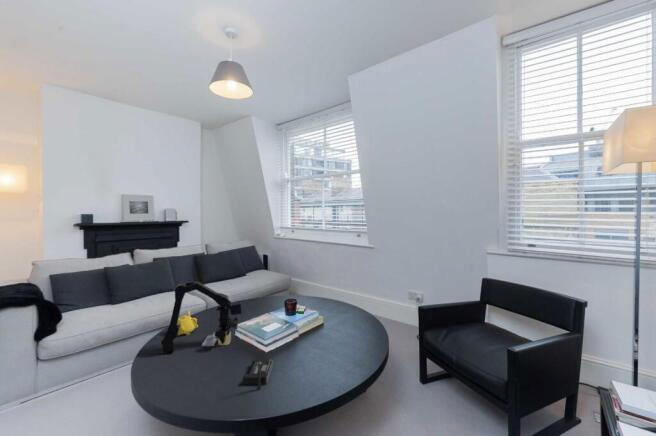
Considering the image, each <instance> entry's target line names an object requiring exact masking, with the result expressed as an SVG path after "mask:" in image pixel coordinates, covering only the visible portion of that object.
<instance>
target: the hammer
mask: <svg viewBox="0 0 656 436" xmlns="http://www.w3.org/2000/svg"><path fill="white" fill-rule="evenodd" d="M215 332H216V331H214V332H213V333H212V334H208V335H207V336H206V338H205V340H204V341H203V342H202V344H201V347H214V346H216V344H217V343H218V337H217V336H215Z"/></svg>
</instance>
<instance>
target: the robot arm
mask: <svg viewBox="0 0 656 436" xmlns="http://www.w3.org/2000/svg"><path fill="white" fill-rule="evenodd" d="M192 291H198V292H200V293H201V294H203V295H205V296H207V297H209V298H211V299H212V300H213V301H214V302H215V303H216V304H217V306H216V308H215V311H218V320H217V321H218V323H219V324H218V328H217V329H216V330H215V331H214V332H215V336H217V337H216V338H217V339H218V338H219V340H220V342H221V343H222V344H224V339H225V336H226V334H227V331H230V330H231V328H233V329H237V327H238V325H239V323H240V321H239V317H237V316H238V315H242V307H241V306H242V304H241V302H238V303H232V302H231V300H230V298H229V296H228V295H226V294H224V293H220V292H217V291H215V290H213V289H212V288H210V287H208V286H206V285H204V284H203V283H201V282H200V281H194V282H192V281H191V282H187V283H185V282H180V283H178V284H177V286H176V287H175V290H174V305H173V310H172V314H171V319H170V322H169V325H168V328H167V330H166V333H165V334H164V335H163V337H162V339H161V341H160V343H161V346H162V351H161V352H160V354H159V355H171V354H173V353H174V352H175V350H177V347H175V341H174V340H175V339H176V337H177V336H178V333H179V327H180V325H178V319H179V318H180V313H181V308H182V304H183V300H184V297H185V295H186V294H187V293H189V292H192ZM230 315H231V316H235V317H234V318H231V316H230Z"/></svg>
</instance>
